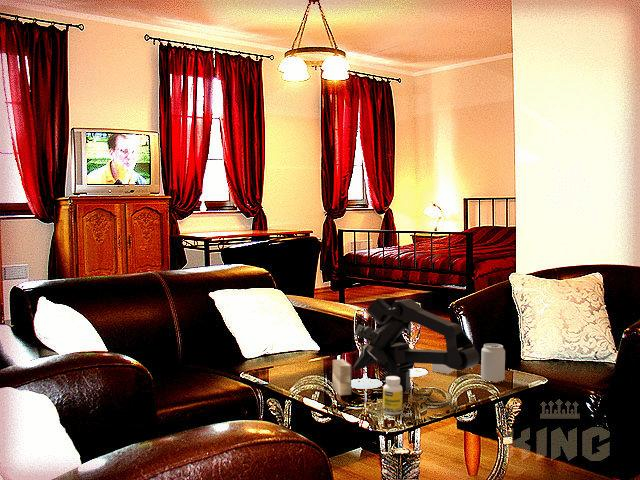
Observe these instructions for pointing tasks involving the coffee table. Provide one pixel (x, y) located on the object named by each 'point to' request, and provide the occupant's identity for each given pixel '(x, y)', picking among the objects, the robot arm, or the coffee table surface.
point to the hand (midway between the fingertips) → (354, 369)
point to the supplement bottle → (392, 396)
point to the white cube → (441, 368)
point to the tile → (342, 377)
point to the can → (493, 362)
